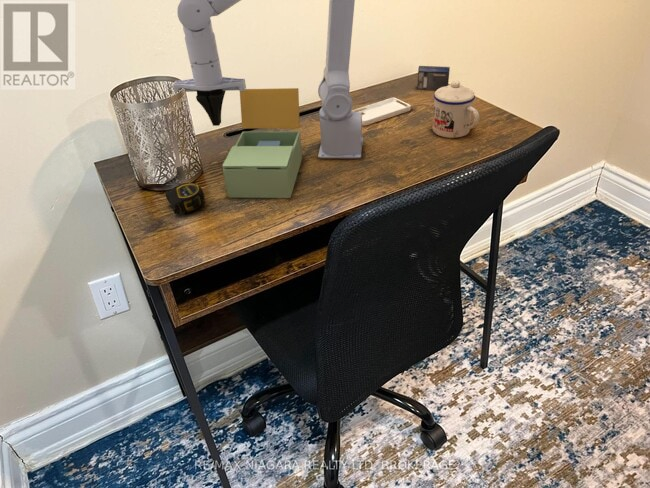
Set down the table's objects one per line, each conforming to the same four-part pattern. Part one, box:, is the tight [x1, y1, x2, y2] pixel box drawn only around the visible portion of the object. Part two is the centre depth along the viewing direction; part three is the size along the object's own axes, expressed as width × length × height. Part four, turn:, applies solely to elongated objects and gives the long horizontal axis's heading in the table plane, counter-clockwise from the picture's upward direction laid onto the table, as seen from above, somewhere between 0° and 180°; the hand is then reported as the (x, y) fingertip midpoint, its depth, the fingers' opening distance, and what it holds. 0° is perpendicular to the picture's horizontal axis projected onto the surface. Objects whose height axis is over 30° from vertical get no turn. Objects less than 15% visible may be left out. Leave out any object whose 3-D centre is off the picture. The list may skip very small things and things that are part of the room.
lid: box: [239, 87, 301, 130], centre depth 111 cm, size 8×13×1 cm
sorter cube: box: [257, 141, 281, 169], centre depth 111 cm, size 5×5×5 cm
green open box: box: [221, 130, 303, 199], centre depth 108 cm, size 17×13×7 cm
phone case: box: [352, 97, 412, 127], centre depth 131 cm, size 7×1×15 cm
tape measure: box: [164, 182, 205, 216], centre depth 101 cm, size 7×7×4 cm
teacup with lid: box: [432, 80, 480, 139], centre depth 118 cm, size 12×9×12 cm
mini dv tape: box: [416, 65, 451, 91], centre depth 141 cm, size 8×2×6 cm, turn 75°
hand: (217, 123), depth 110 cm, fingers closed
